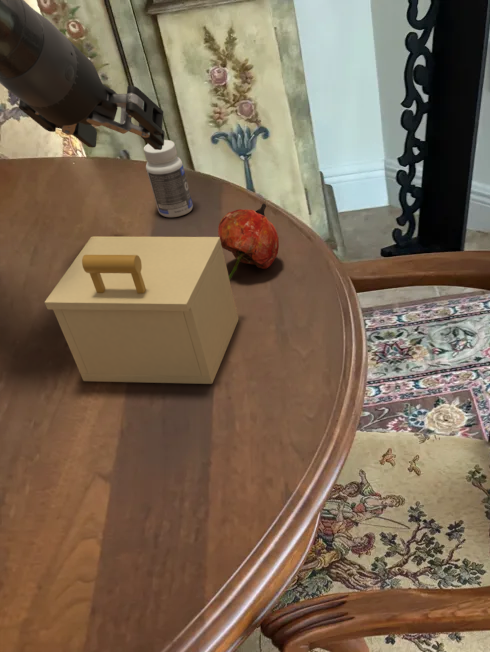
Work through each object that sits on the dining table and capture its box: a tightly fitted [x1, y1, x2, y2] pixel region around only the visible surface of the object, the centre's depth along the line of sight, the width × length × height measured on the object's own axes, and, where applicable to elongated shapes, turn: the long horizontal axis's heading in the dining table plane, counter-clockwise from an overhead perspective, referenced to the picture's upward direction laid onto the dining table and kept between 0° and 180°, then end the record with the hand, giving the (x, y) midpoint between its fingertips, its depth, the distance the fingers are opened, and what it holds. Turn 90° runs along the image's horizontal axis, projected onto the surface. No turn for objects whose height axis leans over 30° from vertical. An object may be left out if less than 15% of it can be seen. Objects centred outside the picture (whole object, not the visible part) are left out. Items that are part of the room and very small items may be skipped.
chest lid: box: [44, 235, 221, 311], centre depth 76 cm, size 13×14×4 cm
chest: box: [52, 245, 240, 385], centre depth 81 cm, size 12×14×9 cm
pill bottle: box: [143, 139, 194, 218], centre depth 103 cm, size 5×5×8 cm
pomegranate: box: [217, 202, 280, 280], centre depth 93 cm, size 7×7×10 cm
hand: (126, 140), depth 93 cm, fingers open, 8 cm apart
